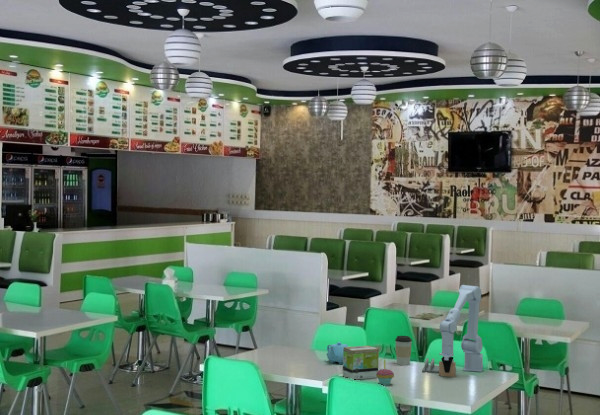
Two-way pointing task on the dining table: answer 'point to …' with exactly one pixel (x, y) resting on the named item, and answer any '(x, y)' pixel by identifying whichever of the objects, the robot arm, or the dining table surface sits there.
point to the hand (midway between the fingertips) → (447, 372)
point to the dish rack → (431, 367)
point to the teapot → (336, 352)
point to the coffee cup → (403, 350)
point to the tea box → (360, 362)
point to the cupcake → (385, 375)
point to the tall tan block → (452, 369)
